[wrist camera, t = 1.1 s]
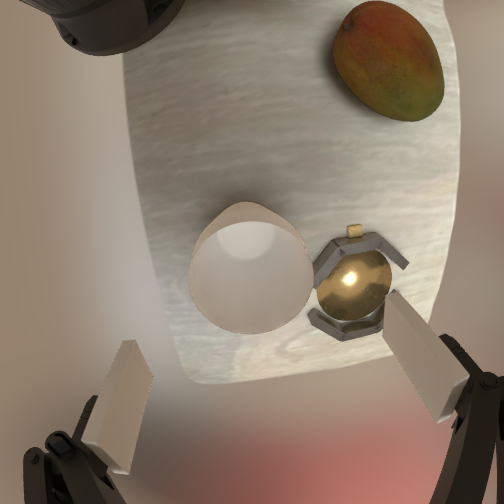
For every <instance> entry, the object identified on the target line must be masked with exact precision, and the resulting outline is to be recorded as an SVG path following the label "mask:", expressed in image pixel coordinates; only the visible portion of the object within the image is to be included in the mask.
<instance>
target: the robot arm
mask: <svg viewBox="0 0 504 504" xmlns="http://www.w3.org/2000/svg"><path fill="white" fill-rule="evenodd" d="M20 1H22V2H24V3H27V4H28V5H30V6H33V7H34V8H37V9H38V10H40V11H43V12H45V13H46V14H48V15H50V16H51V18H52V20H53V22H54V23H55V25H56V27H57V29H58V31H59V33H60V35H61V37H62V38H63V39H64V41H65V42H66V43H67V44H69V45H70V46H71V47H73V48H75V49H77V50H79V51H81V52H83V53H85V54H88V55H93V56H108V55H115V54H119V53H122V52H126V51H128V50H131V49H133V48H135V47H137V46H139V45H141V44H143V43H145V42H147V41H148V40H150V39H151V38H153V37H154V36H155V35H157V34H158V33H159V32H161V31H162V30H163V29H164V28H165V27H166V26H167V25H168V24H169V23H170V22H171V21H172V20H173V18H174V17H175V16H176V15H177V13H178V12H179V10H180V8H181V7H182V5H183V2H184V0H20ZM382 336H383V338H384V340H385V341H386V343H387V344H388V346H389V347H390V349H391V350H392V352H393V353H394V355H395V356H396V358H397V360H398V361H399V363H400V364H401V366H402V367H403V369H404V371H405V372H406V374H407V375H408V377H409V378H410V380H411V382H412V384H413V385H414V387H415V388H416V390H417V392H418V393H419V395H420V397H421V398H422V400H423V402H424V403H425V405H426V407H427V409H428V410H429V412H430V414H431V415H432V417H433V419H434V421H435V422H436V423H439V422H441V421H443V420H446V419H447V418H449V417H451V415H452V413H453V411H454V409H455V410H456V412H457V414H458V415H457V417H456V419H455V421H454V423H453V425H452V427H451V428H454V430H453V434H452V438H451V441H450V445H449V449H448V452H447V455H446V459H445V462H444V465H443V468H442V471H441V474H440V477H439V480H438V482H437V485H436V488H435V491H434V493H433V496H432V498H431V501H430V503H429V504H482V500H483V497H484V493H485V489H486V486H487V482H488V477H489V474H490V469H491V464H492V459H493V454H494V448H495V442H496V453H497V503H496V504H504V376H501V377H497V376H496V375H495V374H494V373H491V372H483V371H482V370H481V369H480V368H479V367H478V365H477V364H476V363H475V362H474V361H473V360H472V358H471V357H470V356H469V355H468V354H467V353H466V352H465V350H464V349H463V348H462V347H460V344H459V343H458V342H457V341H456V340H455V339H454V338H453V337H450V336H449V335H447V334H443V335H440V336H437V334H436V333H435V332H434V331H433V330H432V329H431V328H430V326H429V325H428V324H427V323H426V322H425V321H424V320H423V318H422V317H421V316H420V315H419V314H418V313H417V312H416V311H415V310H414V308H413V307H412V306H411V305H410V304H409V303H408V302H407V301H406V300H405V299H404V298H403V296H402V295H401V294H400V293H399V292H395V293H391V294H387V295H385V311H384V323H383V334H382ZM152 380H153V375H152V373H151V371H150V369H149V367H148V365H147V363H146V361H145V359H144V357H143V355H142V353H141V351H140V349H139V347H138V345H137V342H136V340H127V341H123V342H122V344H121V346H120V348H119V350H118V353H117V355H116V357H115V359H114V361H113V363H112V366H111V368H110V370H109V372H108V375H107V377H106V379H105V381H104V384H103V386H102V388H101V391H100V393H99V396H95V395H93V396H92V397H91V398H90V399H89V401H88V402H87V403H86V406H85V408H84V410H83V413H82V415H81V417H80V418H81V419H79V422H78V424H77V427H76V429H75V432H74V434H73V436H72V439H71V438H70V437H69V436H68V434H67V433H65V432H63V431H55V432H53V433H52V434H50V435H49V436H48V438H47V439H46V442H45V448H46V449H47V450H48V451H49V452H50V453H44V452H43V451H42V450H41V449H40V448H38V447H33V448H30V449H29V450H28V451H27V452H26V453H25V455H24V459H23V481H24V501H25V504H126V502H125V501H124V499H123V497H122V496H121V494H120V493H119V491H118V489H117V488H116V486H115V484H114V483H113V481H112V479H111V478H110V476H109V475H108V474H107V473H106V472H107V468H108V467H109V468H110V469H111V470H112V471H113V472H114V473H121V474H129V472H130V467H131V463H132V459H133V454H134V450H135V446H136V441H137V437H138V433H139V429H140V425H141V421H142V417H143V413H144V410H145V406H146V402H147V398H148V394H149V391H150V387H151V384H152Z"/></svg>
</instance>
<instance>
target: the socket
mask: <svg viewBox="0 0 504 504" xmlns="http://www.w3.org/2000/svg"><path fill="white" fill-rule="evenodd" d="M347 231H348V237H345V238H339V239H333V240H332V241H331V242H330V243H329V245H328V246H327V247H326V248H325V250H324V251H323V252H322V254H321V255H320V256H319V257H318V259H317V260H316V261H315V262H314V264H313V265H312V266H313V272H314V281H313V288H314V289H317V297H318V301H319V303H320V305H321V307H322V309H323V310H324V311H325V312H326V313H327V314H328V315H329V316H331V317H333V318H335V319H338V320H343V321H350V320H355V321H351V322H346V323H342V324H339V323H338V322H336V321H334V320H333V319H331V318H330V317H328V316H326V315H325V314H323V313H321V312H320V311H318V310H316V309H315V308H313V309H312V310H311V311H310V312H309V314H308V317H309V320H310V322H311V325H313V326H314V327H316V328H318V329H320V330H321V331H323V332H325V333H327V334H328V335H330V336H332V337H334V338H336V339H337V340H339V341H342V342H343V341H347V340H351V339H355V338H359V337H363V336H367V335H370V334H374V333H378V332H379V331H381V330H382V329H383V323H384V311H385V301H384V299H385V295H387V294H388V292H389V289H390V286H391V280H392V273H391V268H390V265H389V263H388V261H387V259H386V258H385V257H384V256H383V255H382V254H381V253H380V252H378V251H376V249H380V250H381V251H382V252H383V253H384V254H385V255H386V256H388V257H389V258H390V259H391V260H392V261H393V262H394V263H395V264H397V265H398V266H399V267H400V268H401V269H402V270H404V269H405V268H406V266H407V265H408V264H409V263H410V262H409V261H407V260H406V259H405V258H404V257H403V256H402V255H401V254H400V253H399V252H398V251H397V250H396V249H395V248H394V247H393V246H391V245H390V244H389V243H388V242H387V241H386V240H385V239H384V238H382V237H381V236H380V235H378V234H377V233H375V232H373V233H367V234H362V225H360V224H358V225H352V226H347ZM395 292H397V291H395V290H393V291H392V292H391V293H395ZM391 293H390V294H391ZM383 301H384V302H383ZM382 302H383V303H382ZM381 303H382V304H381ZM380 304H381V305H380ZM377 308H378V309H377ZM375 309H377V310H376V311H375V312H374V313H373V314H372V315H371V317H367V318H363V319H360V318H362V317H365V316H367V315H368V314H370V313H371V312H373V311H374V310H375ZM356 319H359V320H356Z"/></svg>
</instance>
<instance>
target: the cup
mask: <svg viewBox="0 0 504 504" xmlns="http://www.w3.org/2000/svg"><path fill="white" fill-rule="evenodd" d="M313 281H314V272H313V266H312V262H311V259H310V256H309V254H308V252H307V250H306V247H305V245H304V242H303V240H302V238H301V236H300V235H299V233H298V232H297V231H296V229H295V228H294V227H293V226H292V225H291V224H290V223H289V222H288V221H286V220H285V219H284V218H282V217H281V216H279V215H277V214H276V213H274V212H272V211H270V210H268V209H267V208H265V207H263V206H261V205H259V204H257V203H253V202H239V203H236V204H233V205H231V206H229V207H228V208H226V209H225V210H224V211H223V212H222V213H221V214H219V215H218V216H217V217H216V218H215V219H214V220H213V221H212V222H211V223H210V224H209V225H208V226H207V227H206V228H205V229H204V230H203V232H202V233H201V235H200V236H199V238H198V240H197V242H196V244H195V247H194V250H193V254H192V261H191V266H190V270H189V288H190V292H191V296H192V298H193V301H194V303H195V304H196V306H197V308H198V309H199V310H200V312H201V313H202V314H203V315H204V316H205V317H206V318H207V319H208V320H209V321H211V322H212V323H214V324H215V325H217V326H219V327H221V328H223V329H225V330H228V331H231V332H235V333H241V334H259V333H264V332H268V331H272V330H274V329H277V328H279V327H281V326H283V325H285V324H286V323H288V322H289V321H291V320H292V319H293V318H294V317H295V316H296V315H297V314H298V313H299V312H300V311H301V310H302V309H303V307H304V306H305V304H306V303H307V301H308V299H309V297H310V294H311V291H312V287H313Z"/></svg>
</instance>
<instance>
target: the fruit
mask: <svg viewBox="0 0 504 504" xmlns="http://www.w3.org/2000/svg"><path fill="white" fill-rule="evenodd" d="M333 58H334V62H335V65H336V68H337V70H338V72H339V74H340V76H341V78H342V79H343V81H344V82H345V83H346V84H347V86H348V87H349V88H350V90H351V91H352V92H353V93H354V94H355V95H356V96H357V97H358V98H359V99H360V100H361V101H362V102H363V103H365V104H366V105H367V106H368V107H370V108H371V109H373V110H374V111H376V112H378V113H379V114H382V115H384V116H386V117H389V118H391V119H395V120H399V121H409V122H414V121H420V120H422V119H425V118H427V117H428V116H430V115H431V114H432V113H433V112H434V111H436V109H437V108H438V107H439V105H440V104H441V102H442V99H443V96H444V77H443V71H442V66H441V63H440V59H439V56H438V52H437V50H436V47H435V45H434V43H433V41H432V39H431V37H430V35H429V34H428V32H427V31H426V30H425V28H424V27H423V26H422V25H421V24H420V22H419V21H418V20H417V19H416V18H414V17H413V16H412V15H411V14H409V13H408V12H407V11H405V10H404V9H402V8H400V7H398V6H396V5H394V4H391V3H388V2H384V1H367V2H364V3H362V4H360V5H358V6H356V7H355V8H353V9H352V10H351V11H350V12H349V14H348V15H347V16H346V18H345V19H344V21H343V23H342V24H341V26H340V28H339V30H338V33H337V35H336V38H335V41H334V45H333Z"/></svg>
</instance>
